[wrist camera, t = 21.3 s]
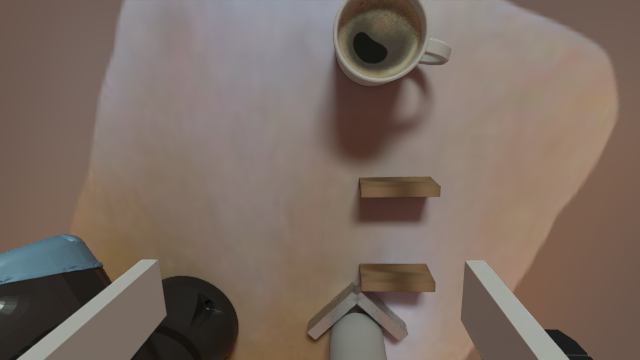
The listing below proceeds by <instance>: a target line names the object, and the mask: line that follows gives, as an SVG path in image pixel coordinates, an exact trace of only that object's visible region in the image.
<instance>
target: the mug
mask: <svg viewBox="0 0 640 360" xmlns="http://www.w3.org/2000/svg"><path fill="white" fill-rule="evenodd" d="M430 29H431V26H430V18H429V14H428V11H427V8H426V6H425V4H424V2H423V1H422V0H344V1H343V3H342V4H341V6H340V8H339V10H338V12H337V14H336V17H335V21H334V27H333V41H334V47H335V53H336V58H337V61H338V64H339V66H340V68H341V70H342V71H343V72H344V74H345V75H346V76H347V77H348V78H350V79H351V80H352V81H354V82H356V83H358V84H361V85H365V86H378V85H382V84H385V83H388V82H391V81H394V80H396V79H399V78H401V77H403V76H405V75H406V74H407V73H409V72H410V71H411V70H412V69H413V68H414V67H415V66H416V65H417V64H418V63H420V64H427V65H442V64H445V63H446V62H448V60H449V56H450V53H451V48H450V46H449V45H448V44H447V43H445V42H443V41H441V40H438V39H435V38H431V37H430Z"/></svg>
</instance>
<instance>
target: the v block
mask: <svg viewBox="0 0 640 360" xmlns="http://www.w3.org/2000/svg"><path fill="white" fill-rule="evenodd" d="M356 304H358V305H359V306H360V307H361V308H363V309H364V310H365V311H366V312H367V313H368V314H369V315H370V316H372V317H373V318H374V319H375V320H376V321H377V322H378V323H379V324H381V325H382V326H383V327H384V328H385V329H386V330H387V331H388V332H389V333H391V334H392V335H393V336H394V337H395V338H396V339H397V340H398V341H401V340H402V339H403V338H405V337H406V336H407V335H408V332H407V328H406V324H405V322H404V321H402V320H401V319H400V318H399V317H398V316H397V315H396V314H395V313H394V312H392V311H391V310H390V309H389V308H388V307H387V306H386V305H385V304H384V303H383V302H381V301H380V300H379V299H378V298H377V297H376V296H375V295H374V294H373V293H371V292H370V291H361V283H359V284H358V285H357V286H356V285H355V284H354V283H351V284H350V285H349V286H347V287H346V288H345V289H344V290H343V291H342V292H341V293H340V294H339V295H337V296H336V297H335V298H334V299H333V300H332V301H331V302H330V303H329V304H327V305H326V306H325V307H324V308H323V309H322V310H321V311H320V312H319V313H317V314H316V315H315V316H314V317H313V318H312V319H311V320H310V321H309V323H308V330H307V333H308V334H309V335H310V336H311V337H313V338H314V339H315V340H316V339H317V338H318V337H319V336H320V335H322V334H323V333H324V332H325V331H326V330H327V329H328V328H329V327H331V326H332V325H333V324H334V323H335V322H336V321H337V320H339V319H340V318H341V317H342V316H343V315H344V314H345V313H347V312H348V311H349V310H350V309H351V308H352V307H353V306H355V305H356Z"/></svg>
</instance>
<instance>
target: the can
mask: <svg viewBox="0 0 640 360" xmlns="http://www.w3.org/2000/svg"><path fill="white" fill-rule="evenodd" d="M329 360H387V357H386V351H385V344H384V338H383V333H382V330H381V327H380V325H379V324H378V323H377V321H376V320H374V319H373V318H371V317H370V316H368V315H365V314H362V313H351V314H347V315H344V316H342V317H341V318H340V319H339V320H337V321H336V322H335V323H334V324H333V327H332V329H331V335H330V353H329Z"/></svg>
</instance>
